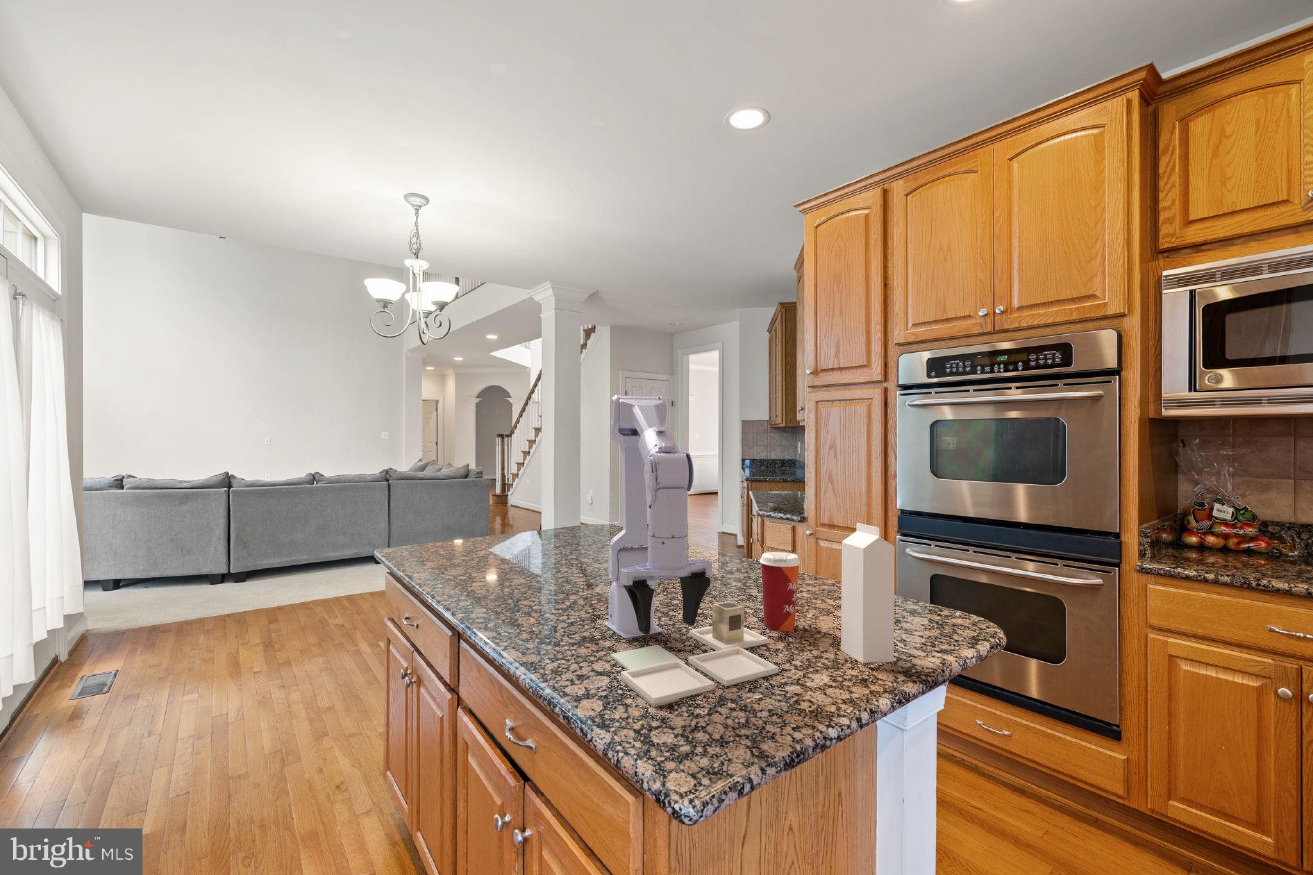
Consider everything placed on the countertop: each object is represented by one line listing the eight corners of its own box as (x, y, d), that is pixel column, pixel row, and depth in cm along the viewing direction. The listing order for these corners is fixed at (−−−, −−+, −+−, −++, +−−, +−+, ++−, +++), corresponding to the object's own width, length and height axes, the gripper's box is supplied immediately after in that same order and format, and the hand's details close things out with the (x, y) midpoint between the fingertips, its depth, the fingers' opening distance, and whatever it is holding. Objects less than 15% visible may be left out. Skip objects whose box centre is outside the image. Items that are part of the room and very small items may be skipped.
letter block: (712, 637, 102) (712, 603, 102) (730, 633, 104) (730, 600, 104) (725, 644, 99) (726, 609, 99) (744, 640, 101) (744, 606, 101)
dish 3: (688, 664, 91) (688, 657, 91) (738, 653, 96) (738, 646, 96) (725, 688, 82) (725, 680, 82) (778, 674, 87) (778, 667, 87)
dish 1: (620, 679, 85) (620, 671, 85) (677, 666, 90) (677, 659, 90) (653, 707, 76) (653, 698, 76) (714, 691, 81) (714, 683, 81)
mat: (610, 656, 94) (610, 654, 94) (657, 647, 98) (657, 644, 98) (635, 676, 86) (635, 673, 86) (685, 665, 91) (685, 662, 91)
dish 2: (689, 637, 103) (689, 630, 103) (733, 628, 108) (733, 622, 108) (721, 655, 95) (721, 648, 95) (768, 645, 100) (768, 638, 100)
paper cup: (801, 636, 104) (801, 560, 104) (758, 633, 106) (759, 558, 106) (799, 623, 112) (799, 552, 112) (759, 620, 114) (760, 550, 114)
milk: (862, 666, 91) (863, 528, 91) (840, 652, 97) (840, 523, 97) (894, 661, 93) (895, 526, 93) (870, 648, 99) (871, 521, 99)
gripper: (636, 543, 76) (635, 645, 76) (724, 535, 83) (723, 628, 83) (614, 535, 82) (613, 629, 82) (697, 528, 89) (696, 614, 89)
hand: (667, 628), depth 83 cm, fingers open, 7 cm apart
